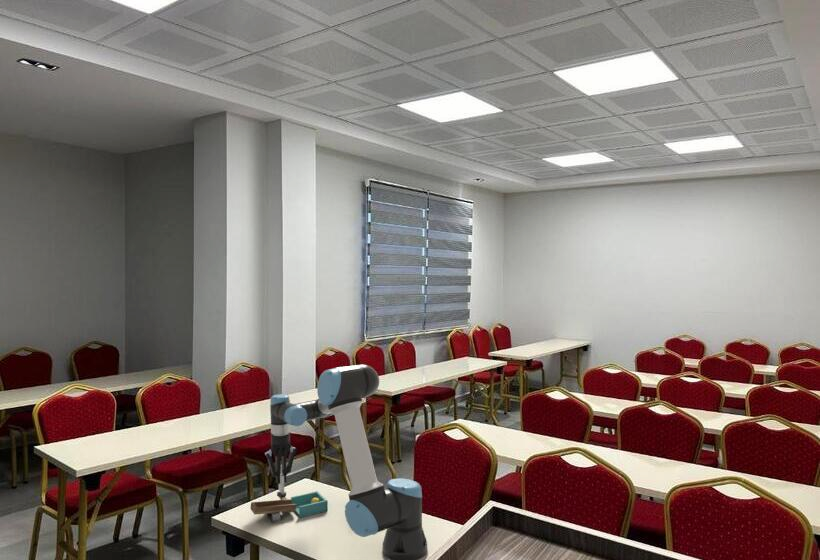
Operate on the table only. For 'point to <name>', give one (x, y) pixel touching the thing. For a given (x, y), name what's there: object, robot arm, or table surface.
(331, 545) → the table surface
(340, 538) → the table surface
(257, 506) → the lever
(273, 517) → the stand
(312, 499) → the ball
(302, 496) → the tray
